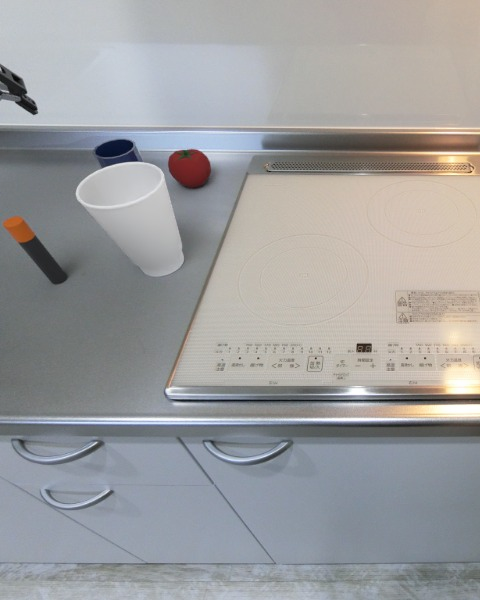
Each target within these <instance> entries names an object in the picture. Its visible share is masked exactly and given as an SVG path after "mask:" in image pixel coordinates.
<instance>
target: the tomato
mask: <svg viewBox="0 0 480 600" xmlns="http://www.w3.org/2000/svg"><path fill="white" fill-rule="evenodd" d="M167 167H168V172H169V174H170V176H172V178H173V179H174V180H175V181H176V182H178V184H180V185H182V186H184V187H187V188H192V189H193V188H197V187H201V186H202V185H204V184H205V183H206V182H207V180H208V179H209V177H210V176H211V172H212V166H211V161H210V160H209V157H208V156H207V155H206V153H205V154H204V152H203V151H200V150H199V149H196V148H187V149H180V150H179V149H178V150H175V151H174V152H173V153H171V154H170V155H169V156H168V159H167Z"/></svg>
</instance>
